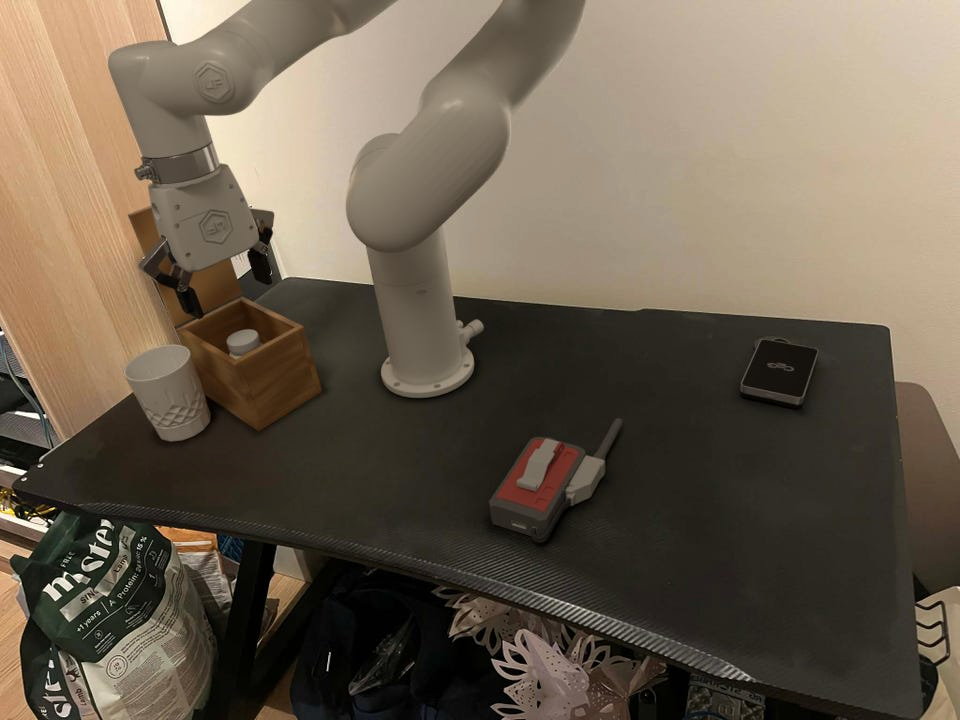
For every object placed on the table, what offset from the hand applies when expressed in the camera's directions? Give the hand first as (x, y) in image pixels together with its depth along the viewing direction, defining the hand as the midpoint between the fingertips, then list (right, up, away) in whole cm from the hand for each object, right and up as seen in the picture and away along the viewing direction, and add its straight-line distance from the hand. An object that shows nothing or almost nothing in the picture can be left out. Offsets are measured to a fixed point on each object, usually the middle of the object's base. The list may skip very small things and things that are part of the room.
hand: (231, 298), depth 88 cm
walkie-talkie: (+40, -21, -11) cm, 46 cm away
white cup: (-7, -16, +4) cm, 18 cm away
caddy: (+1, -12, +8) cm, 15 cm away
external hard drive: (+67, -10, -2) cm, 68 cm away
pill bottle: (+1, -12, +8) cm, 14 cm away
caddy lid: (-6, +5, +2) cm, 8 cm away
